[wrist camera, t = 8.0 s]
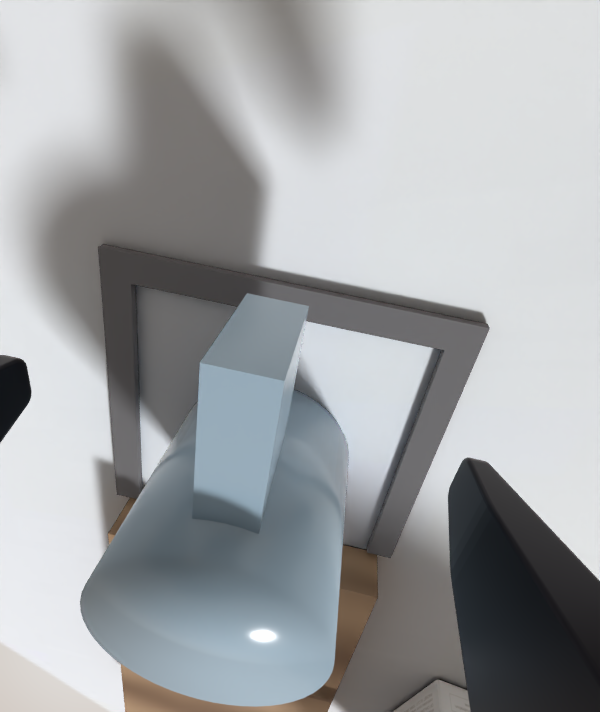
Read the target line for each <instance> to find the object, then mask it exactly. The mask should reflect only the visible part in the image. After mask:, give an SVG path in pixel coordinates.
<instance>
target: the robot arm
mask: <svg viewBox="0 0 600 712" xmlns="http://www.w3.org/2000/svg"><path fill="white" fill-rule="evenodd" d="M30 398H31V387H30V381H29V376H28V370H27V366H26V363H25V362H24V360H22V359H20V358H16V357H11V356H7V355H0V442H1V441H2V440H3V438H4V437H5V435H6V434H7V433H8V431H9V430H10V428H11V427H12V426H13V424H14V423H15V421H16V420H17V419H18V417H19V416H20V414H21V413H22V412H23V410H24V409H25V407H26V406H27V405H28V403H29V401H30ZM448 513H449V546H450V570H451V580H452V588H453V594H454V601H455V608H456V615H457V622H458V629H459V636H460V643H461V650H462V656H463V663H464V670H465V677H466V684H467V691H468V698H469V705H470V712H600V581H599V580H598V579H597V578H596V577H595V576H594V575H593V573H592V572H591V571H590V570H589V569H588V568H587V567H586V566H585V565H584V564H583V563H582V562H581V561H580V560H579V559H578V558H577V556H576V555H575V554H574V553H573V552H572V551H571V550H570V549H569V548H568V547H567V546H566V545H565V544H564V543H563V542H562V541H561V540H560V538H559V537H558V536H557V535H556V534H555V533H554V532H553V531H552V530H551V529H550V528H549V527H548V526H547V525H546V524H545V523H544V521H543V520H542V519H541V518H540V517H539V516H538V515H537V514H536V513H535V512H534V511H533V510H532V509H531V508H530V507H529V506H528V505H527V503H526V502H525V501H524V500H523V499H522V498H521V497H520V496H519V495H518V494H517V493H516V492H515V491H514V490H513V489H512V488H511V486H510V485H509V484H508V483H507V482H506V481H505V480H504V479H503V478H502V477H501V476H500V475H499V474H498V473H497V472H496V471H495V470H494V468H493V467H492V466H491V465H490V464H489V463H487V462H485V461H482V460H477V459H473V458H465V459H464V460H463V461H462V463H461V465H460V467H459V469H458V471H457V473H456V475H455V477H454V479H453V481H452V483H451V486H450V488H449V493H448Z"/></svg>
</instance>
